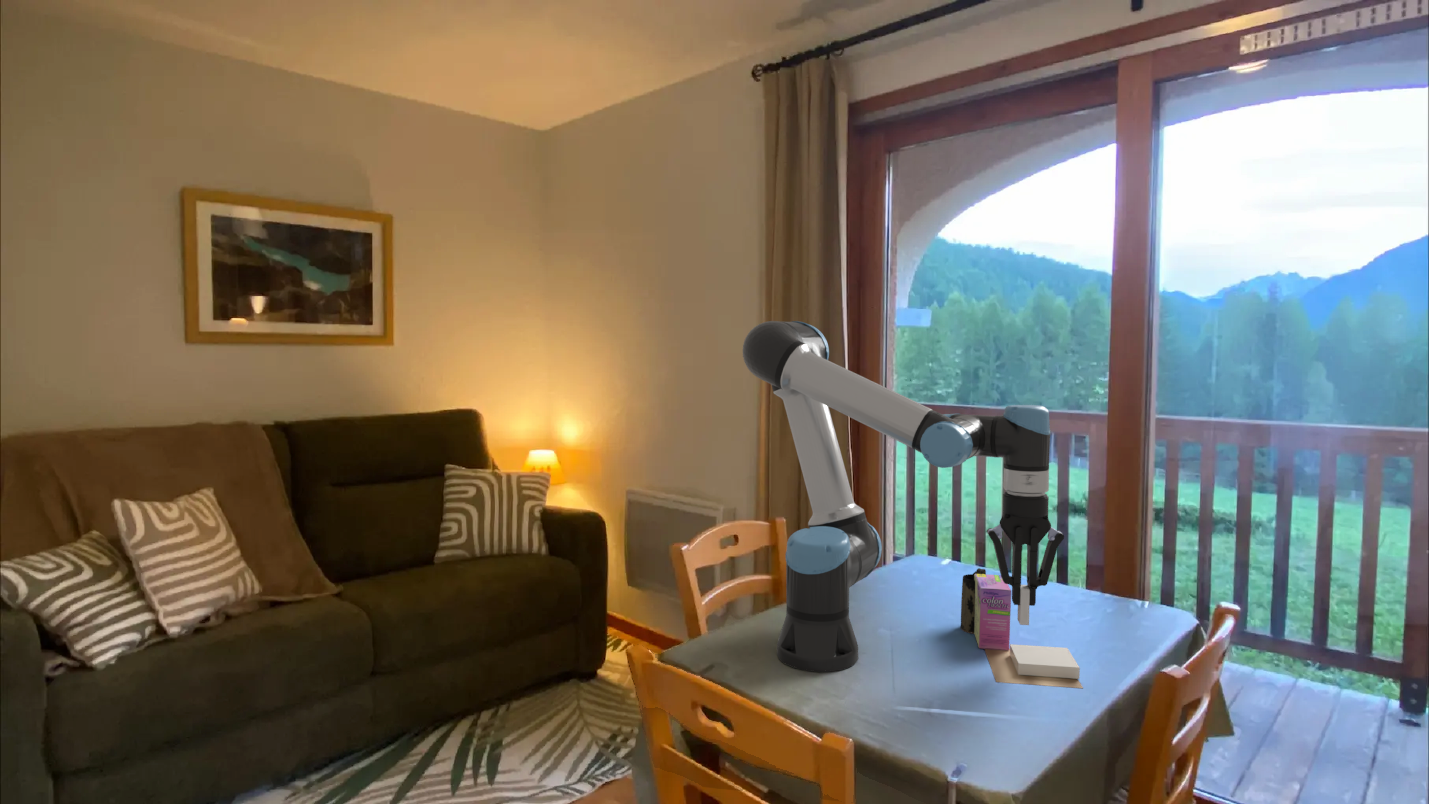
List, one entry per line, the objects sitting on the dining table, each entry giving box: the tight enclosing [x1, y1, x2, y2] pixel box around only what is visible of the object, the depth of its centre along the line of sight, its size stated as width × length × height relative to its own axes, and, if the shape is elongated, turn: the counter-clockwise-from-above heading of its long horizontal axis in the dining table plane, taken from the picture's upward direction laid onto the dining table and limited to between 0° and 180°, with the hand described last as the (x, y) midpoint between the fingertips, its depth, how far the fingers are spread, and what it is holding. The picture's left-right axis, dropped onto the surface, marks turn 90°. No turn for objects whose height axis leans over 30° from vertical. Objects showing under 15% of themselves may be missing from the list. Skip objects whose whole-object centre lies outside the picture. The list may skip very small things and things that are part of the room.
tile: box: [1009, 643, 1081, 680], centre depth 143 cm, size 2×9×10 cm
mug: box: [960, 567, 987, 635], centre depth 163 cm, size 8×6×12 cm
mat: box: [983, 648, 1084, 689], centre depth 144 cm, size 14×16×1 cm
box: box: [973, 573, 1012, 651], centre depth 156 cm, size 10×6×12 cm, turn 168°
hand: (1023, 622), depth 143 cm, fingers closed
